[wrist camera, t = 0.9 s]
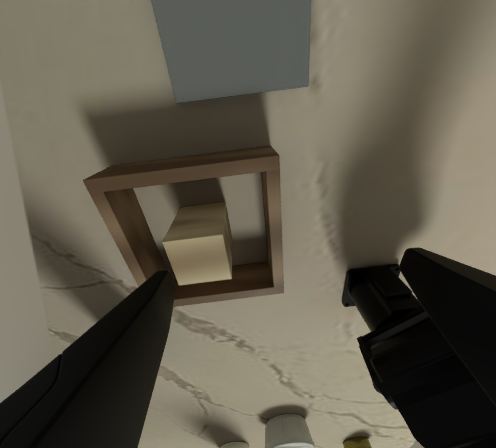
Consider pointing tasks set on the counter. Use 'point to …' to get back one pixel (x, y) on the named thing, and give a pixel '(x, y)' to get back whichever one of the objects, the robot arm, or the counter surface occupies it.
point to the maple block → (200, 244)
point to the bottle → (235, 445)
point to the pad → (234, 46)
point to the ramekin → (287, 432)
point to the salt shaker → (357, 443)
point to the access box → (180, 170)
